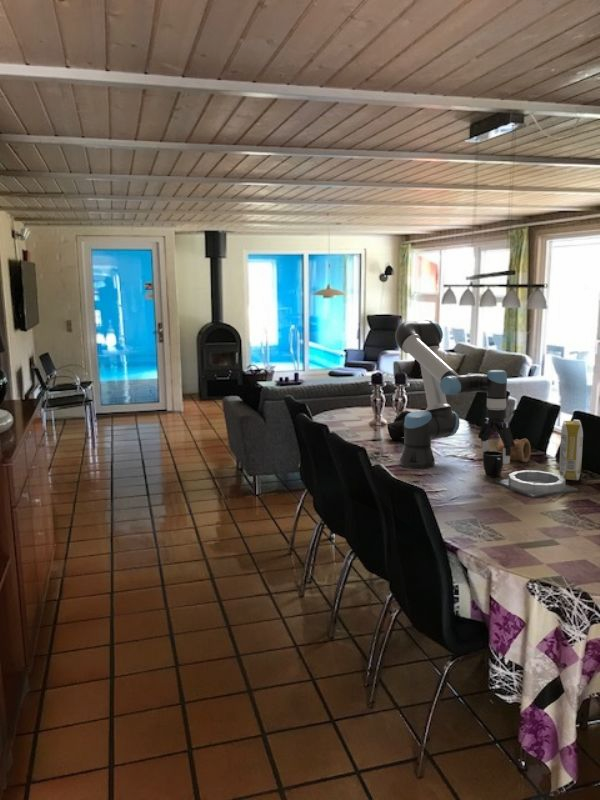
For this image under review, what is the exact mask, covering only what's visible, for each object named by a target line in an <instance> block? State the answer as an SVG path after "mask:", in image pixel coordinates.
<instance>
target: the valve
mask: <svg viewBox="0 0 600 800" xmlns="http://www.w3.org/2000/svg"><path fill="white" fill-rule="evenodd" d="M411 412H412V411H410V410H404V411H401V412H400V413H399V414H398V415H397V416H396V417H395V419H394V420H393V422H391V423H387V424H386V425H387V432H388V435H389V438H390V439H391V438H392V439H393V440H392V441H396V440H397V441H398V440H400V439H402V438H404V422H405V416H406V415H407V414H408V413H411Z"/></svg>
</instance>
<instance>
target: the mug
mask: <svg viewBox="0 0 600 800" xmlns="http://www.w3.org/2000/svg"><path fill="white" fill-rule="evenodd" d="M482 464H483V470H484V473H485V476H486V475H487V476H486V477H488V476H489V478H499V477H500V476H501V473H502V470H503V467H504V464H503V453H502V452H498V451H497V450H489V451H485V452H483V457H482Z"/></svg>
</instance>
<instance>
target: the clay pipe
mask: <svg viewBox="0 0 600 800" xmlns="http://www.w3.org/2000/svg"><path fill="white" fill-rule="evenodd" d="M513 441H514V444H515V446H514V447H511V454H510V461H512V460H513V461H514V462H516V461H519V462H521V463H528V462H529V459H530V457H531V452H532V450H531V449H532V447H531V444H530V443H531V442H530V441H529V440H528V438H522V439H518V438H516V439H513ZM503 447H504V444H503V442H502V440H501V439H500V440H499V441H498V442H497V443H496V447H495V448H496V451H498V452H502V453H503Z"/></svg>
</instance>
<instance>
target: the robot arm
mask: <svg viewBox="0 0 600 800" xmlns="http://www.w3.org/2000/svg"><path fill="white" fill-rule="evenodd" d="M443 336H444V334H443V329H442V326H441V325H440V324H439V323H437V321H435V320H428V319H425V320H407V321H404V322H402V323H400V324H399V325H398V327H397V329H396V330H395V336H394V337H395V342H396V344H397V346H398V347H399V349H400V350H402V352H404V353H405V354H409V355H410V356H411V357H412V358H414V359H415V361H417V362H418V364H419V367H420V372H421V376H422V382H423V388H424V393H425V398H426V404H427V407H426V409H425V410H415V411H410V412H411V413H408V414H407V415H406V416H405V422H404V437H403V438H404V440H403V442H404V443H403V444H404V445H403V449H402V453H401V456H400V459H399V460H400V461H399V465H400V466H401V467H403V468H407V469H415V470H416V469H417V470H419V469H420V470H423V469H431V468H433V467H435V466H436V462H435V461H436V460H435V457H434V453H433V451H432V440H439V439H443V438H445V439H446V438H448V437H449V438H450V437H452V436H454V435H455V434H456V433H458V430H459V429H460V428H459V427H460V417H459V415H458V413H457V412H455V411H454V410H452V406H451V405H450V404H449V403H448V401H447V397H446V396H456V395H463V394H469V393H486V408H487V409H486V417H484V418H483V421H482V424H481V427H480V430H479V433H478V435H477V436H478V437H477V438H478V439H480V440H481V457H482V458H483V452H485V451H490V450H489V442H490V441H489V439H490V437H491V435H492V434H493V432H495V433H497V434H498V435H499V437H500V441H501V440H502V442H503V444H504V447H503V465H504V464H505V465H506V464H510V463H511V459H510V454H511V447H514V446H515V444H514V437H513V434H512V430H511V426H510V422H509V421H508V422H505V419H506V418H507V410H506V408H507V387H508V373H507V371H505V370H502V369H490V370H488V371H487V372H486V373H487V374H486V373H478V372H469V373H466V374H458V373H457V372H456V371H455V370H454V369H452V368H451V367H450V366H449V365H448V363H446V362H445V361H444V360H443V359H442V358H441V357H439V354H438V351H439V349H440V348H441V347H440V344H441V342H442V341H443Z"/></svg>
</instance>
